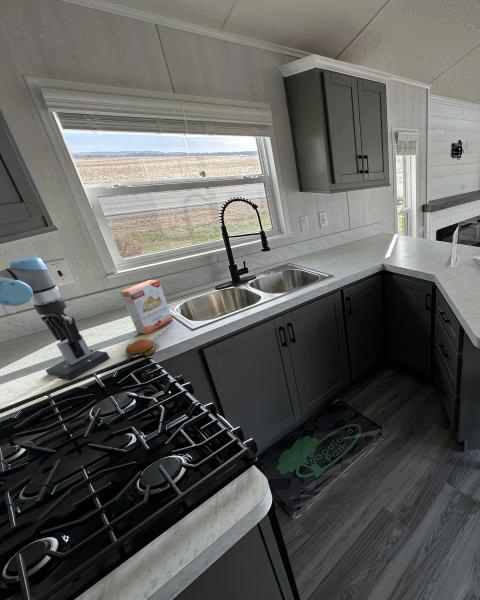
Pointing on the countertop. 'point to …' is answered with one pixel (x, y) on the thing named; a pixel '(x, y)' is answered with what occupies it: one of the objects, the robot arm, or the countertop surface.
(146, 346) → the burger
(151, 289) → the cracker box
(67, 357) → the tap handle
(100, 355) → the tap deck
